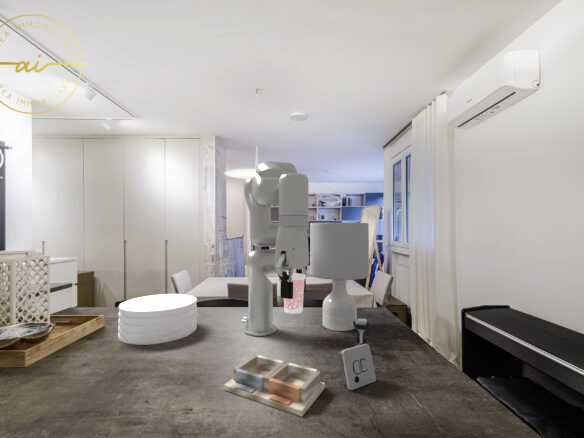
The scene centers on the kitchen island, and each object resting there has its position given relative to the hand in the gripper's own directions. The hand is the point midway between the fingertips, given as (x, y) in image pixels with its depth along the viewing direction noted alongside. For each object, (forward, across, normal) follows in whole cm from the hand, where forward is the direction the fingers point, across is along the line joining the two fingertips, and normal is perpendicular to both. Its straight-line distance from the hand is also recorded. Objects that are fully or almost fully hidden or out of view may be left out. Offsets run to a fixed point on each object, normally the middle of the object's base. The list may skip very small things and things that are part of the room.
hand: (293, 294), depth 74 cm
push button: (+24, -32, +8) cm, 41 cm away
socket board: (+24, +1, -5) cm, 24 cm away
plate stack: (+24, -13, -67) cm, 72 cm away
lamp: (+24, -53, -7) cm, 58 cm away
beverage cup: (+4, 0, 0) cm, 4 cm away
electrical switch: (+24, -12, +12) cm, 29 cm away
